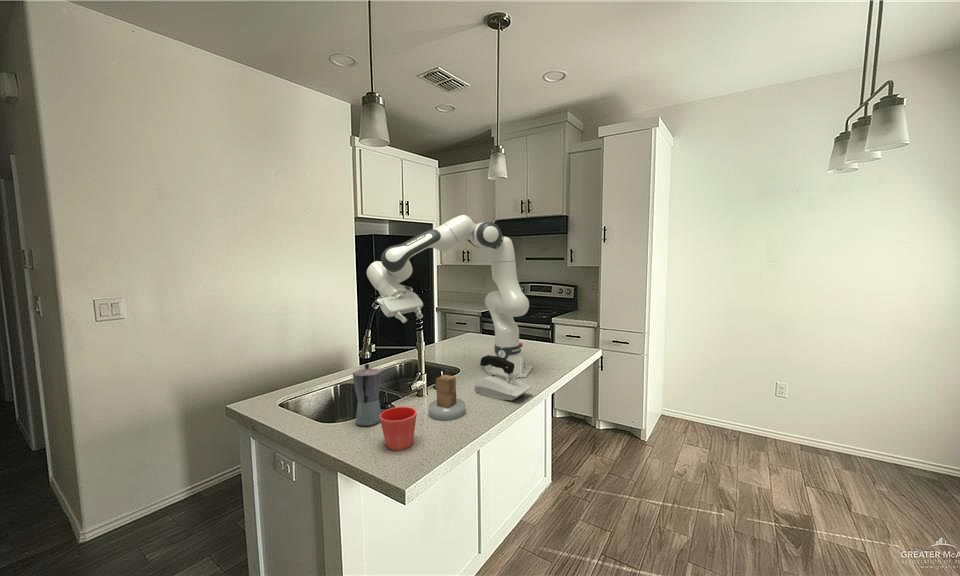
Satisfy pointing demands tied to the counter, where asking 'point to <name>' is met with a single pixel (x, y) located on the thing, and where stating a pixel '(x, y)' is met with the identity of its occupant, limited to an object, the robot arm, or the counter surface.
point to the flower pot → (398, 427)
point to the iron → (500, 380)
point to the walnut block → (446, 391)
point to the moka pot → (367, 395)
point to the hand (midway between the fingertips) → (413, 319)
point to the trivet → (447, 411)
